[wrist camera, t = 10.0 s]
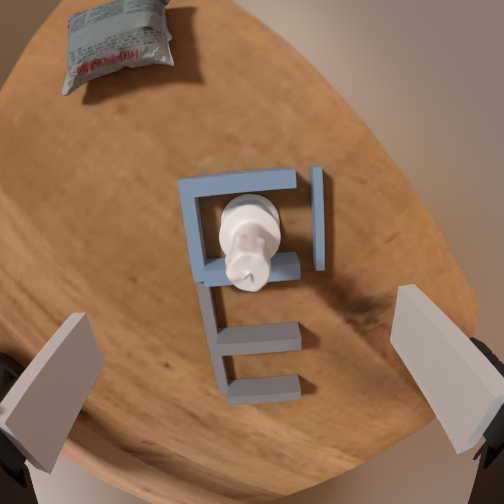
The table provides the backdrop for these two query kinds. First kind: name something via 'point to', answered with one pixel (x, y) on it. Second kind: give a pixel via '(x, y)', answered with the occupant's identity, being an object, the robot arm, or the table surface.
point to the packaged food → (116, 40)
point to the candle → (249, 240)
